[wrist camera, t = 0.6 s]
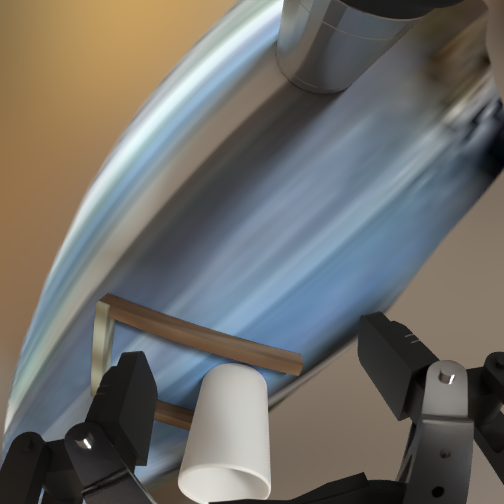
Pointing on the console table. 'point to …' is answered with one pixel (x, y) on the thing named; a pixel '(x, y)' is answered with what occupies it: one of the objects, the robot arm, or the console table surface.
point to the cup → (228, 438)
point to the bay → (181, 333)
